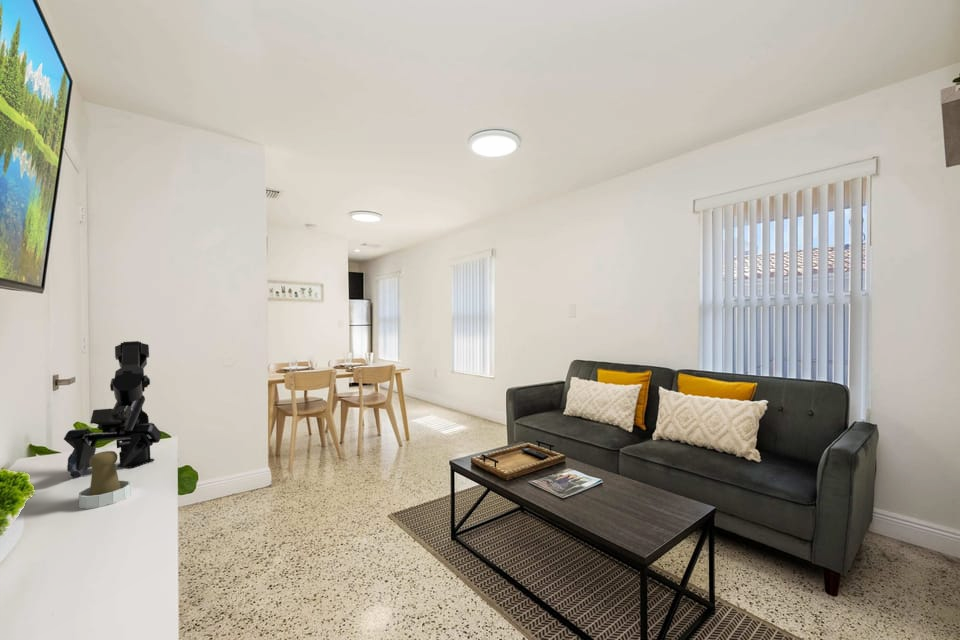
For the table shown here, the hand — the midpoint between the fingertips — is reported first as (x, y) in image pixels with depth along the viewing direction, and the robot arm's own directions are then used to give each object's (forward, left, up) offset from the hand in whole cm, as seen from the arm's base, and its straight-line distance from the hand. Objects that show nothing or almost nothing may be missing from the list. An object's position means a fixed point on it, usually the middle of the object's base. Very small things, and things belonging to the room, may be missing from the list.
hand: (100, 467), depth 100 cm
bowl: (-1, -1, -8) cm, 8 cm away
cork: (-1, -1, -8) cm, 8 cm away
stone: (-11, -27, -9) cm, 30 cm away
